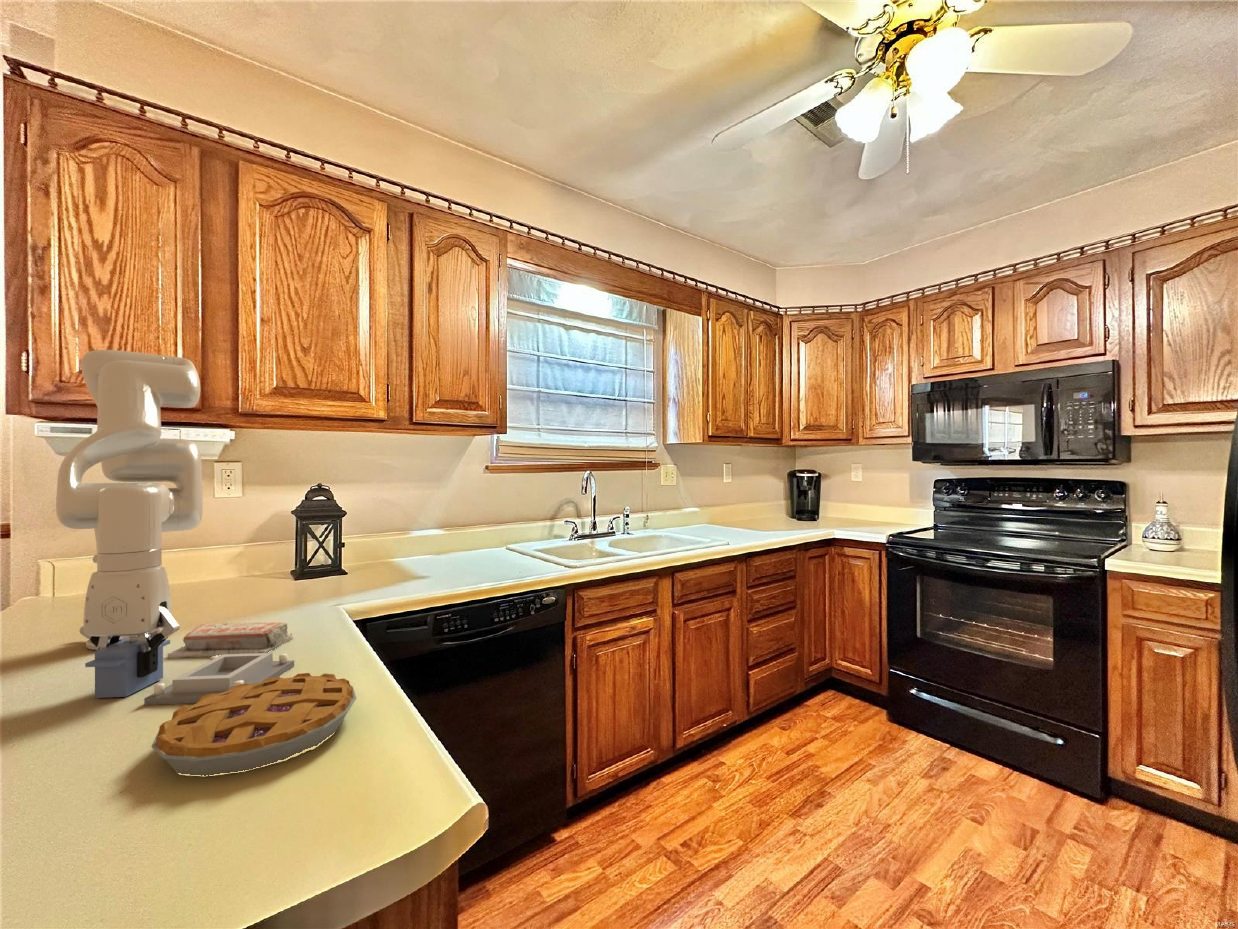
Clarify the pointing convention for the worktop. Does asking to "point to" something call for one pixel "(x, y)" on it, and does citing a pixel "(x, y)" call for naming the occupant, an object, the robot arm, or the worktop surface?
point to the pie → (254, 724)
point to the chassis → (219, 677)
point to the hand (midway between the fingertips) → (130, 673)
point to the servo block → (122, 669)
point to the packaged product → (232, 639)
